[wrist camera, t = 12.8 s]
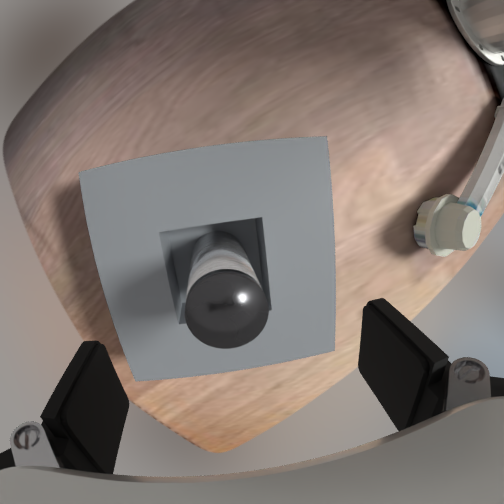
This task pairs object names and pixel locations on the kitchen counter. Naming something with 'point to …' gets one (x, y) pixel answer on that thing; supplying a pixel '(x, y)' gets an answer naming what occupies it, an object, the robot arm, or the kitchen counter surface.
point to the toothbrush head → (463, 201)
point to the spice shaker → (224, 293)
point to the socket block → (209, 220)
